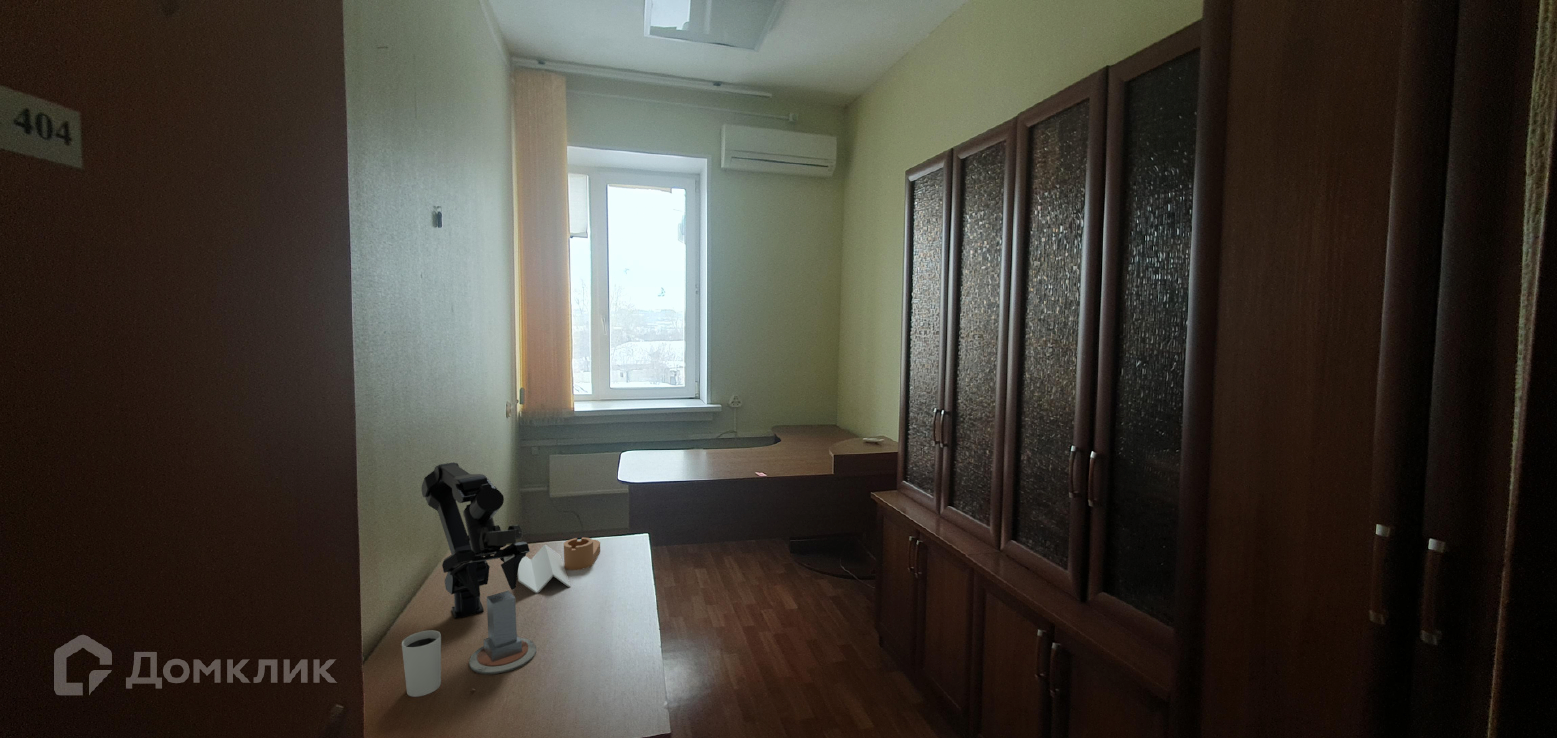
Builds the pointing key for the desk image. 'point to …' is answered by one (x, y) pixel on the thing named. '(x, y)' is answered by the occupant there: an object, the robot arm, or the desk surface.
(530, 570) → the white zigzag folded sheet
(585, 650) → the desk surface
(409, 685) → the white cup
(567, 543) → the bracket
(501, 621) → the grey stepped block
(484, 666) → the copper centred dish
